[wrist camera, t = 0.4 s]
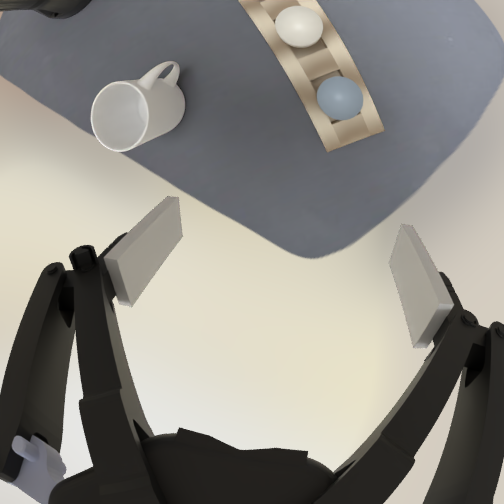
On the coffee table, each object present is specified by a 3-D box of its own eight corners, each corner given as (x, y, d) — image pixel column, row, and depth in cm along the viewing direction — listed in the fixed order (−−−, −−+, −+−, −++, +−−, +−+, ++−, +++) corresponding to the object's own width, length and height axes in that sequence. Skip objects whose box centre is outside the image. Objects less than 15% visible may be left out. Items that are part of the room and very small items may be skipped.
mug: (213, 80, 32) (180, 80, 23) (166, 144, 38) (126, 165, 29) (168, 49, 30) (125, 43, 21) (127, 113, 36) (81, 128, 27)
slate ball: (308, 86, 28) (309, 86, 24) (345, 72, 26) (351, 70, 22) (326, 121, 30) (329, 126, 26) (362, 108, 28) (370, 111, 24)
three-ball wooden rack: (217, -27, 22) (210, -34, 19) (269, -51, 19) (266, -59, 16) (325, 147, 34) (327, 152, 32) (379, 127, 31) (384, 130, 29)
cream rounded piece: (271, 25, 24) (266, 16, 20) (308, 10, 22) (308, -1, 18) (291, 56, 26) (289, 52, 22) (328, 42, 24) (331, 35, 20)
